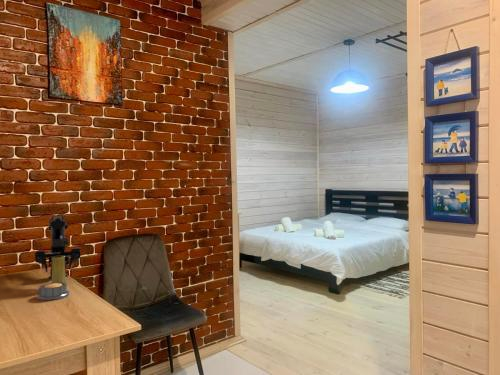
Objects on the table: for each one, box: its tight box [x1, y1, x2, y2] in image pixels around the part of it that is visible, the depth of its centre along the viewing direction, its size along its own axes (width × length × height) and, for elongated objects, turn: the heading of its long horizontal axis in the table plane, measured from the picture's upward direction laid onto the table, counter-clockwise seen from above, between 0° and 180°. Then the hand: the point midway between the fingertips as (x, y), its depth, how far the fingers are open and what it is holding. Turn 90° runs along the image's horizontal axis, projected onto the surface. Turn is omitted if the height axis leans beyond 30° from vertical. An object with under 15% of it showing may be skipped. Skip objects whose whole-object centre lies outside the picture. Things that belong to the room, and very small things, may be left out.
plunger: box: [44, 283, 62, 288], centre depth 160 cm, size 7×7×1 cm
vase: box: [50, 255, 67, 284], centre depth 172 cm, size 6×6×14 cm
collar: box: [36, 282, 70, 302], centre depth 160 cm, size 12×12×4 cm
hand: (58, 270), depth 172 cm, fingers open, 9 cm apart
